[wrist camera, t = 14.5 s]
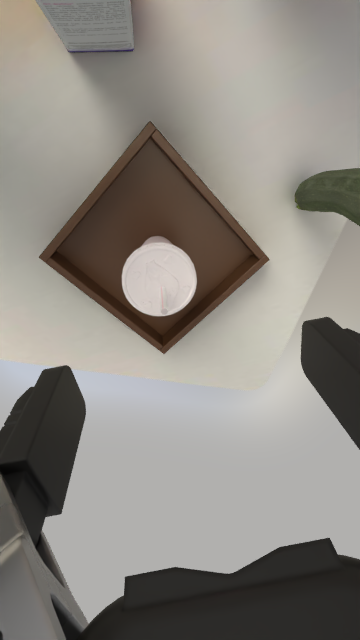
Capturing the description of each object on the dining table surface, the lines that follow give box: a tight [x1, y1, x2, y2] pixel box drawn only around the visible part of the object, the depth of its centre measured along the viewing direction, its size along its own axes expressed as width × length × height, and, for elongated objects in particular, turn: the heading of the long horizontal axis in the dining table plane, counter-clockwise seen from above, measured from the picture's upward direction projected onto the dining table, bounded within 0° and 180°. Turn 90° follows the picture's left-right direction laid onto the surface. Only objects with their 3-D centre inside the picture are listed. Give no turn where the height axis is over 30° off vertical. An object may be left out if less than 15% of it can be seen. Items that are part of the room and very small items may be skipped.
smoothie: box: [122, 236, 197, 316], centre depth 27 cm, size 6×6×14 cm
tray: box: [39, 122, 269, 354], centre depth 33 cm, size 18×17×3 cm
